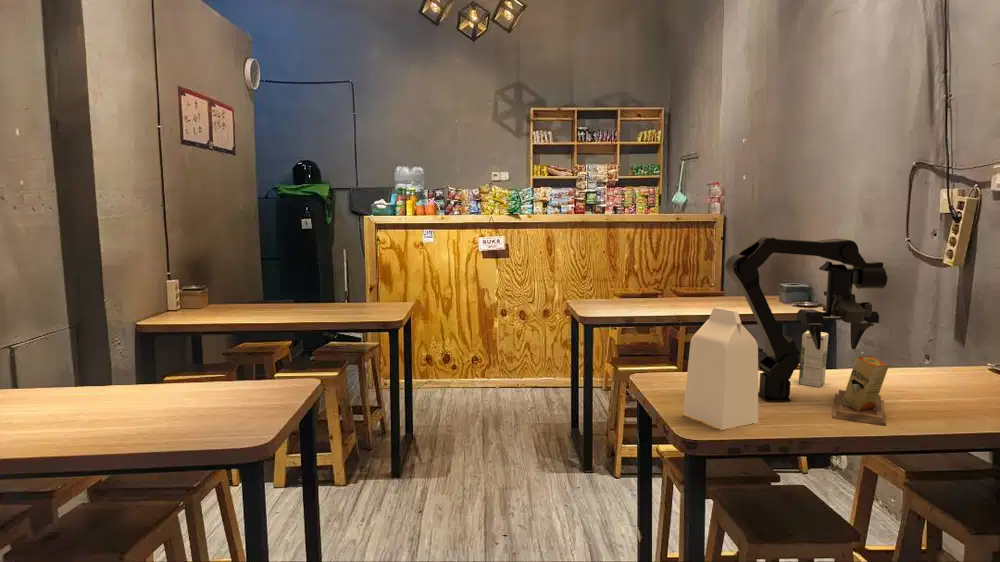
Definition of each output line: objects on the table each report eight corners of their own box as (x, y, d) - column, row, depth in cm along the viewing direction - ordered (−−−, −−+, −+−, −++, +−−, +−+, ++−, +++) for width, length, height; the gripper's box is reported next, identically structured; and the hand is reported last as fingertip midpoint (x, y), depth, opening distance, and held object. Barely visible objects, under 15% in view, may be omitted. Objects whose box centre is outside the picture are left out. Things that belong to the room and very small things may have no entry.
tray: (831, 417, 155) (832, 410, 155) (835, 396, 173) (835, 389, 172) (885, 425, 150) (886, 418, 150) (883, 402, 167) (884, 395, 167)
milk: (683, 415, 156) (687, 307, 153) (717, 408, 162) (722, 303, 159) (722, 431, 146) (728, 315, 143) (758, 423, 151) (764, 311, 148)
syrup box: (802, 379, 188) (805, 329, 186) (825, 383, 185) (828, 332, 183) (798, 384, 184) (801, 333, 182) (821, 387, 180) (825, 335, 178)
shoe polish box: (858, 411, 158) (873, 367, 154) (842, 400, 162) (856, 357, 158) (873, 409, 160) (888, 365, 156) (856, 398, 164) (871, 355, 160)
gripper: (819, 293, 158) (816, 357, 160) (895, 293, 159) (891, 356, 161) (797, 287, 169) (794, 347, 171) (868, 286, 170) (864, 346, 172)
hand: (835, 349), depth 169 cm, fingers open, 9 cm apart
